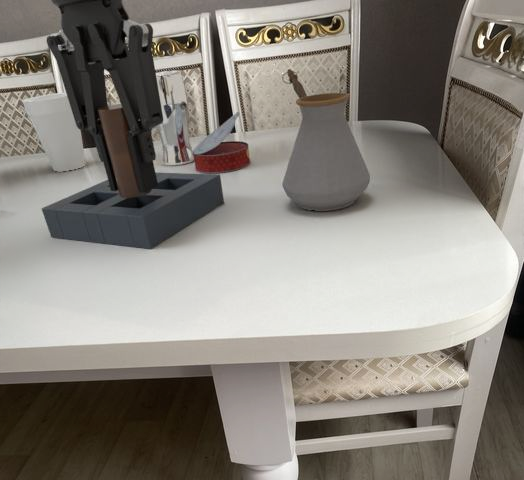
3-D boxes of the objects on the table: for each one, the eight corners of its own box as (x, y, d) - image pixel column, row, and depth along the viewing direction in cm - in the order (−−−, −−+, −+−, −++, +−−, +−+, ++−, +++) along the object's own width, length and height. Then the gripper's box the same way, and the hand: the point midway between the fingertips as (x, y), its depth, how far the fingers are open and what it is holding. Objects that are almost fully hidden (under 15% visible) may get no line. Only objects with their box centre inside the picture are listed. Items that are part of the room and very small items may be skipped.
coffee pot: (384, 206, 67) (386, 74, 58) (296, 222, 65) (286, 89, 57) (330, 168, 84) (326, 63, 76) (260, 180, 83) (249, 74, 75)
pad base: (51, 237, 71) (41, 208, 68) (132, 197, 83) (126, 171, 81) (151, 249, 63) (143, 216, 61) (224, 202, 75) (220, 174, 73)
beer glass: (174, 156, 104) (158, 71, 96) (204, 156, 101) (190, 68, 93) (153, 166, 99) (134, 77, 90) (184, 166, 96) (167, 74, 88)
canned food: (239, 197, 92) (221, 152, 83) (192, 188, 96) (171, 144, 88) (266, 151, 96) (252, 104, 87) (220, 144, 100) (203, 98, 91)
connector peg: (113, 197, 65) (90, 110, 60) (133, 187, 68) (113, 103, 63) (138, 198, 64) (116, 109, 58) (158, 188, 66) (139, 102, 61)
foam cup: (101, 159, 108) (82, 90, 101) (80, 172, 101) (59, 98, 94) (59, 162, 110) (38, 95, 103) (36, 175, 103) (12, 103, 96)
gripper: (-8, -31, 54) (64, 194, 67) (118, -60, 46) (171, 201, 59) (47, -32, 59) (104, 177, 72) (168, -57, 52) (207, 181, 64)
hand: (134, 188), depth 66 cm, fingers closed on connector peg, 4 cm apart
